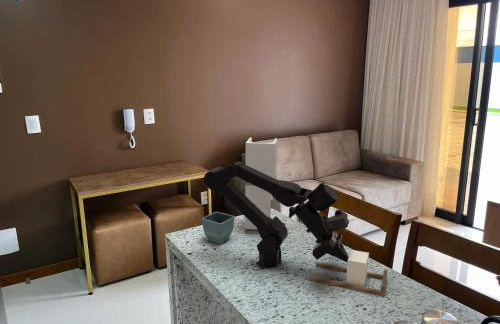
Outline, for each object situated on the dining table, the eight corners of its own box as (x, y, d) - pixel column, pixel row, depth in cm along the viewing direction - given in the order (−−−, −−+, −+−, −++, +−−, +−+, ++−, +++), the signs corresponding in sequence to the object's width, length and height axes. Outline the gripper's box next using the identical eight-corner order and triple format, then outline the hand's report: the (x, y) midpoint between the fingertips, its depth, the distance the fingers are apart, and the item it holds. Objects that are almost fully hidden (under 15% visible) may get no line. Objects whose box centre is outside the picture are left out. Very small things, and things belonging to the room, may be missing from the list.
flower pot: (235, 238, 144) (235, 216, 142) (221, 247, 137) (221, 223, 135) (216, 233, 149) (216, 211, 147) (201, 241, 141) (201, 218, 139)
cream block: (345, 285, 112) (347, 260, 110) (349, 274, 119) (351, 249, 117) (363, 289, 110) (366, 263, 109) (366, 277, 117) (368, 252, 115)
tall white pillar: (273, 235, 147) (275, 143, 139) (245, 233, 149) (245, 142, 140) (275, 223, 158) (277, 138, 150) (248, 222, 160) (249, 137, 151)
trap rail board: (305, 287, 112) (306, 276, 112) (318, 262, 127) (319, 252, 126) (382, 304, 105) (383, 292, 104) (387, 276, 119) (388, 265, 118)
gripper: (326, 214, 104) (366, 260, 102) (339, 194, 121) (373, 233, 119) (296, 237, 109) (334, 281, 107) (312, 215, 125) (345, 253, 124)
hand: (348, 261), depth 114 cm, fingers closed, pressing on cream block
